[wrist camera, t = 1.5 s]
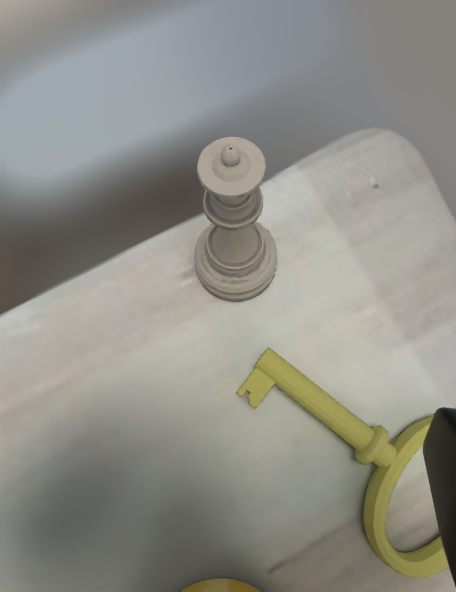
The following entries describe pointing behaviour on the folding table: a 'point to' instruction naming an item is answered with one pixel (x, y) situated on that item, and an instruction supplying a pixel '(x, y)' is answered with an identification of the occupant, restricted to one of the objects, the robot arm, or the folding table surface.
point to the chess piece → (234, 222)
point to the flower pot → (220, 586)
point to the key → (357, 456)
